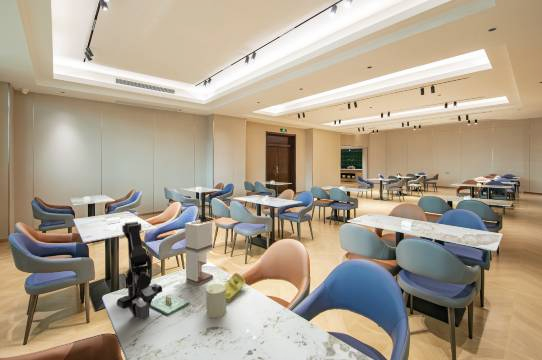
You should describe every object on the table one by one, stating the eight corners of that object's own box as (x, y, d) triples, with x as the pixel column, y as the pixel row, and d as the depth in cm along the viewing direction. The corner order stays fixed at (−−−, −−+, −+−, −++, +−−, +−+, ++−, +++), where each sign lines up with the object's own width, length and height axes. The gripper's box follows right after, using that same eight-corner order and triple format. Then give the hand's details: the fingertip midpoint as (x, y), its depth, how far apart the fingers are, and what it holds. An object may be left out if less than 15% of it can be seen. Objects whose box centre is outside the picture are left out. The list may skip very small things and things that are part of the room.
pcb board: (148, 305, 130) (147, 297, 130) (169, 295, 140) (168, 288, 140) (168, 315, 121) (167, 307, 121) (189, 303, 131) (188, 296, 131)
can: (202, 312, 123) (202, 287, 123) (218, 304, 130) (218, 281, 130) (214, 320, 117) (213, 294, 116) (230, 312, 124) (230, 287, 123)
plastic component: (228, 299, 131) (213, 288, 134) (223, 310, 133) (208, 298, 136) (248, 280, 149) (234, 270, 152) (243, 290, 151) (230, 280, 154)
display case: (198, 285, 151) (197, 225, 149) (186, 281, 157) (184, 223, 155) (212, 278, 161) (211, 221, 159) (200, 274, 167) (199, 219, 165)
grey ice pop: (128, 313, 123) (128, 300, 123) (136, 309, 127) (136, 297, 126) (141, 320, 117) (140, 307, 117) (149, 316, 121) (149, 303, 120)
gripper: (129, 293, 108) (130, 329, 109) (168, 276, 123) (169, 309, 124) (115, 286, 114) (116, 321, 115) (154, 271, 129) (155, 302, 130)
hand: (141, 313), depth 121 cm, fingers open, 6 cm apart
